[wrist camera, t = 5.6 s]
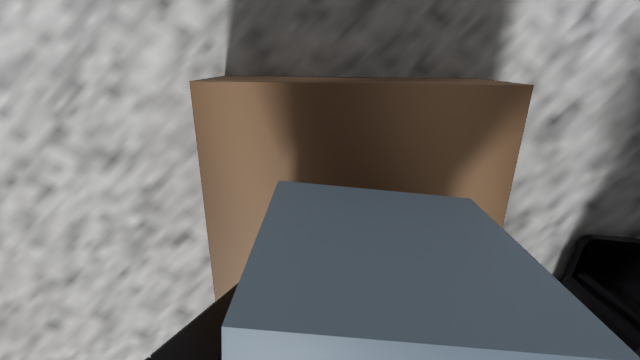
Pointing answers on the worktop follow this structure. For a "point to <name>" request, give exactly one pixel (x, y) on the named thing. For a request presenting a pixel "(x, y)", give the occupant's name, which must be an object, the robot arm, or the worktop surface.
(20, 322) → the worktop surface
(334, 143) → the walnut block
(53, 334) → the worktop surface
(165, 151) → the worktop surface
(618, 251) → the robot arm
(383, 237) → the slate cube
